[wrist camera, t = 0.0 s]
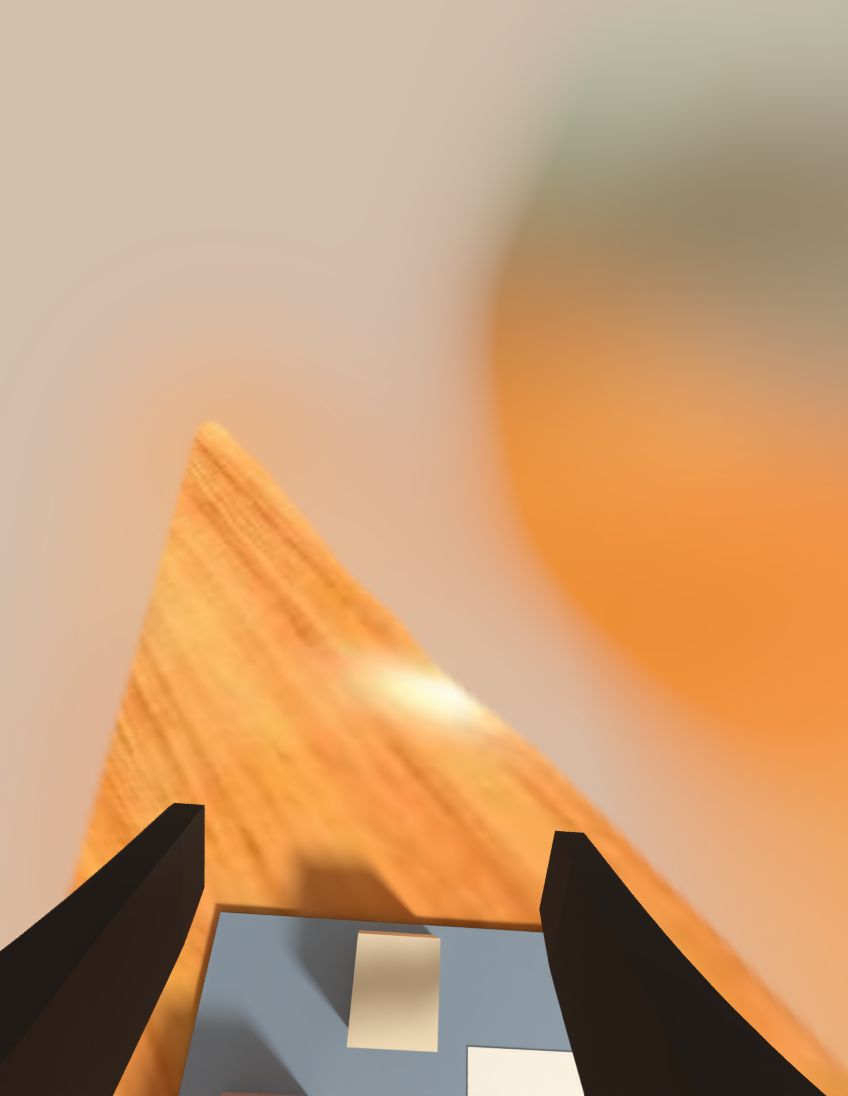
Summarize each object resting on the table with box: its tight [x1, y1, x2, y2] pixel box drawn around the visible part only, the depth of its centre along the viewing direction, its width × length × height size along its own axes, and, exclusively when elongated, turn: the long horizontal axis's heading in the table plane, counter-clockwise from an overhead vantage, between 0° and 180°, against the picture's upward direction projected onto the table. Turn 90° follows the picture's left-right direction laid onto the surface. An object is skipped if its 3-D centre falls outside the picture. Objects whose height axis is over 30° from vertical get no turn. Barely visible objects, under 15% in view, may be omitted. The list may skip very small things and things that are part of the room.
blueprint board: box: [178, 912, 584, 1096], centre depth 32 cm, size 14×30×1 cm, turn 87°
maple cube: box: [347, 930, 441, 1052], centre depth 32 cm, size 5×5×5 cm
